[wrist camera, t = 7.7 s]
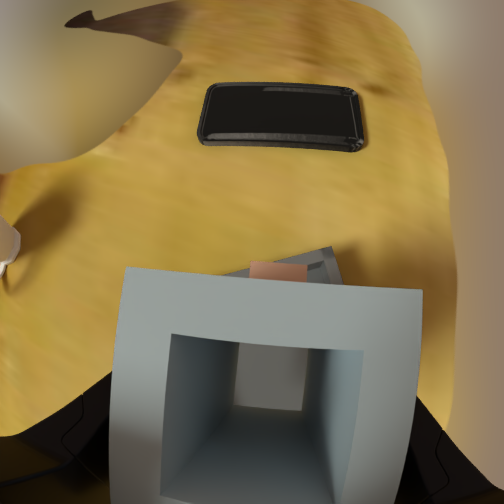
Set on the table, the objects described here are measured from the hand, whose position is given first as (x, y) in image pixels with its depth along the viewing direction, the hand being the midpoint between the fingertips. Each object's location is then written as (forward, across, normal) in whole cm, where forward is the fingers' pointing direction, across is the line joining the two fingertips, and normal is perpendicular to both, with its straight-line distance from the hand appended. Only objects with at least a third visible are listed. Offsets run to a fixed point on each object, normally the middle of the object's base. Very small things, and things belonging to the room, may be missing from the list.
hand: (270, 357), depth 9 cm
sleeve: (+4, 0, +6) cm, 7 cm away
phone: (+24, +1, -5) cm, 25 cm away
